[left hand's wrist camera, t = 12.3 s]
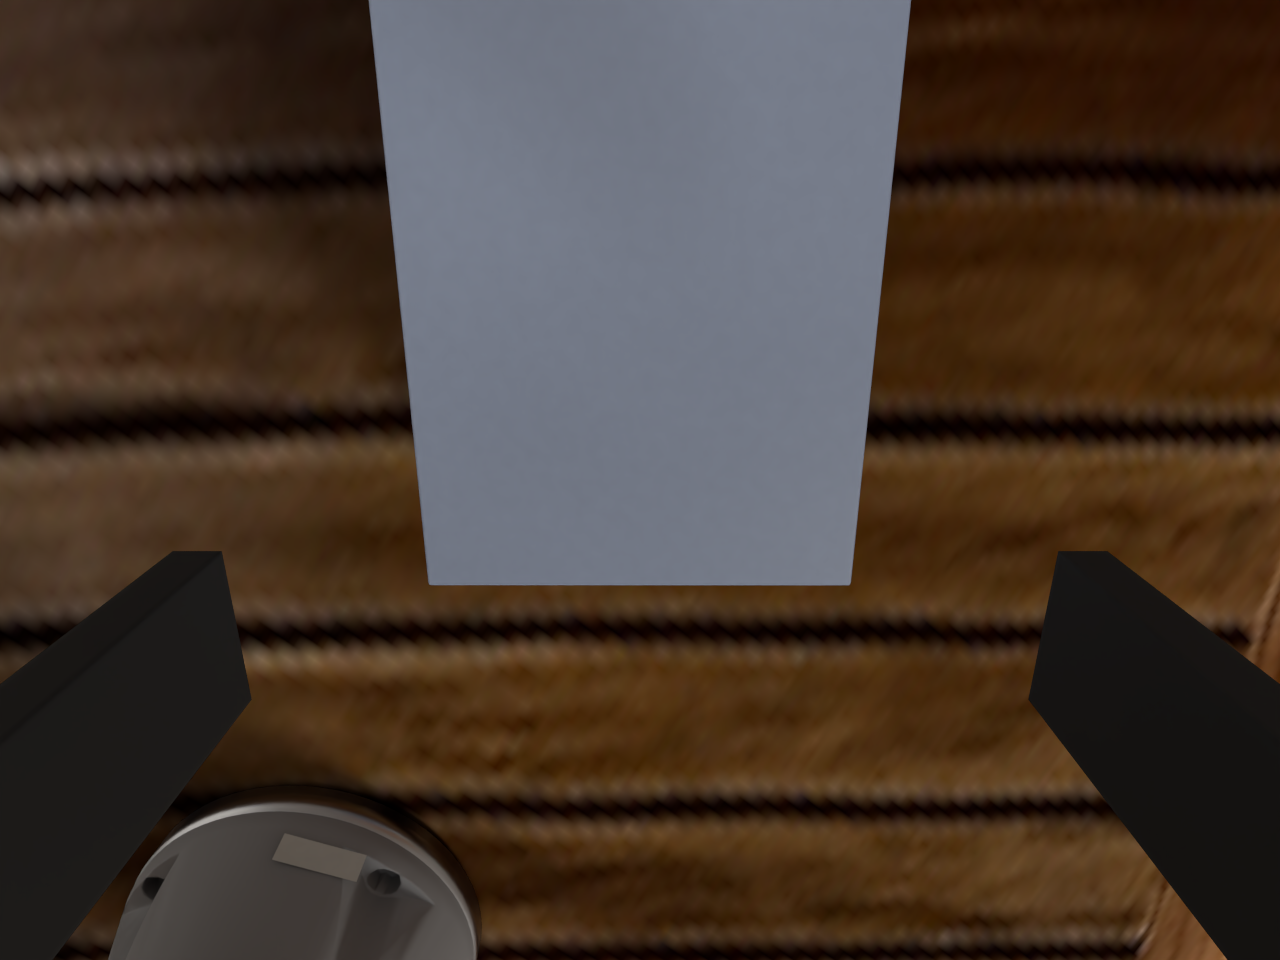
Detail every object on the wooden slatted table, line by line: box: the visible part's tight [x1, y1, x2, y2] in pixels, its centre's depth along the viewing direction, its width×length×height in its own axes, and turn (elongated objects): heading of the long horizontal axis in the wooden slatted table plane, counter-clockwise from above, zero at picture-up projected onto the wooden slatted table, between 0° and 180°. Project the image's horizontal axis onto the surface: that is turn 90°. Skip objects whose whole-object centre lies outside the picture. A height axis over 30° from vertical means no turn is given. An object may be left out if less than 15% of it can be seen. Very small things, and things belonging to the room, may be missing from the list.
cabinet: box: [369, 0, 911, 585], centre depth 21 cm, size 21×11×9 cm, turn 0°
